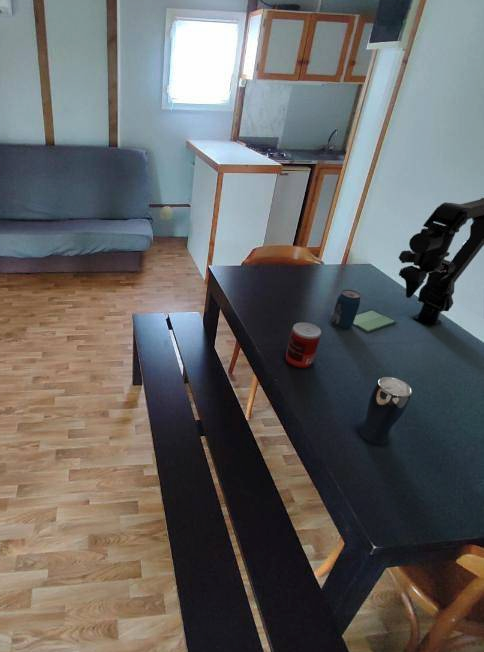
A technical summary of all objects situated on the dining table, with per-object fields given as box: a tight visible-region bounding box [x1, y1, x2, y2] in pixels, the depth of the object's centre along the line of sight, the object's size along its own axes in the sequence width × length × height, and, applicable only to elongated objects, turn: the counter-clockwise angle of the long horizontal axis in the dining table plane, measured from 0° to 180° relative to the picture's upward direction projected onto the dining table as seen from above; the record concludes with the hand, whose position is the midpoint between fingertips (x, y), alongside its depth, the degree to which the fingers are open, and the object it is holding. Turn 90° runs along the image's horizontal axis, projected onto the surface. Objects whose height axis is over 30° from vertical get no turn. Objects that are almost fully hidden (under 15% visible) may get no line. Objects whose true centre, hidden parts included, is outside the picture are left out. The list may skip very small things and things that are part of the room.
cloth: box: [353, 310, 396, 333], centre depth 141 cm, size 14×9×1 cm, turn 117°
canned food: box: [285, 322, 322, 369], centre depth 118 cm, size 8×8×11 cm
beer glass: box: [358, 376, 413, 446], centre depth 92 cm, size 7×7×15 cm
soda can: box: [330, 289, 362, 330], centre depth 135 cm, size 7×7×12 cm
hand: (417, 294), depth 130 cm, fingers open, 9 cm apart
